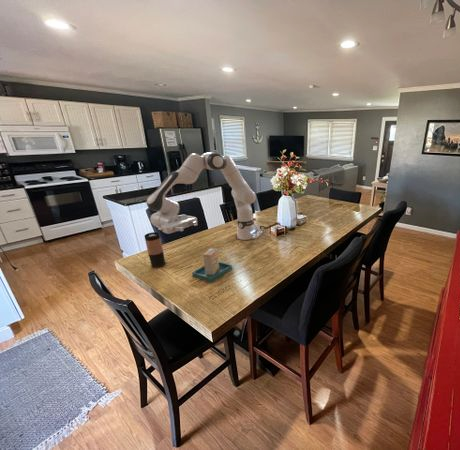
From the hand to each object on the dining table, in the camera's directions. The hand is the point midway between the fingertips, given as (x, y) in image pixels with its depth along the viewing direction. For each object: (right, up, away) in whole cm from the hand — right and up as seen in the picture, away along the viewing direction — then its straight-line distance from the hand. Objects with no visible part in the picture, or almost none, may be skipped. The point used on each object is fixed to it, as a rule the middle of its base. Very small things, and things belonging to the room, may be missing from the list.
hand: (189, 226), depth 134 cm
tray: (+12, -26, +4) cm, 29 cm away
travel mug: (-24, -23, +11) cm, 36 cm away
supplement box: (+12, -26, +3) cm, 29 cm away
